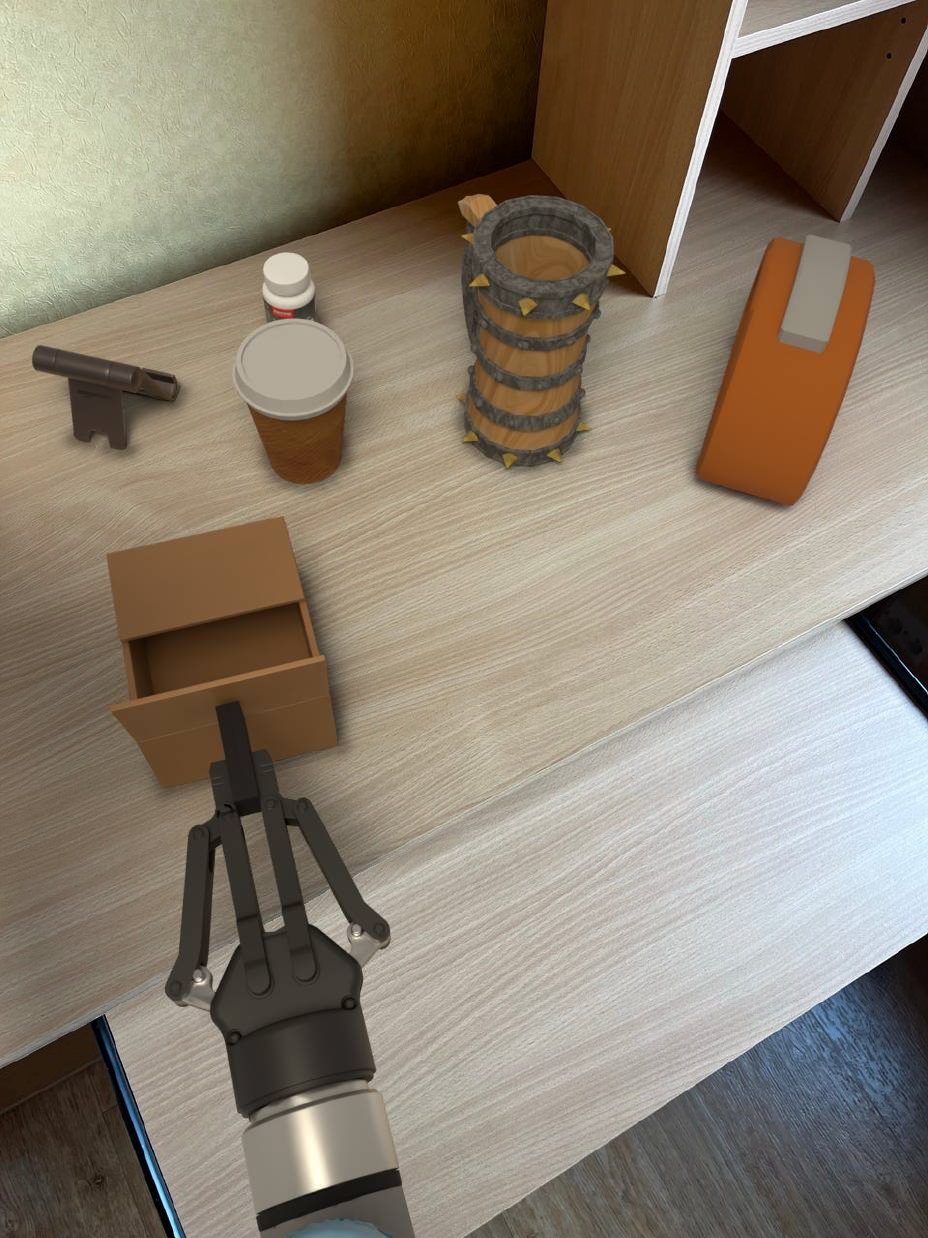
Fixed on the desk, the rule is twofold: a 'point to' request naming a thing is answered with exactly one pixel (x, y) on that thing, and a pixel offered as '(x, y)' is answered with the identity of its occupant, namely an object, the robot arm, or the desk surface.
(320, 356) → the disposable coffee cup
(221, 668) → the carton
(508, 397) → the mug
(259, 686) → the flap
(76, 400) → the tablet stand
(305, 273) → the pill bottle
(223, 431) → the desk surface
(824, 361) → the alarm clock
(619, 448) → the desk surface
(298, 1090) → the robot arm
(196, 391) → the desk surface
